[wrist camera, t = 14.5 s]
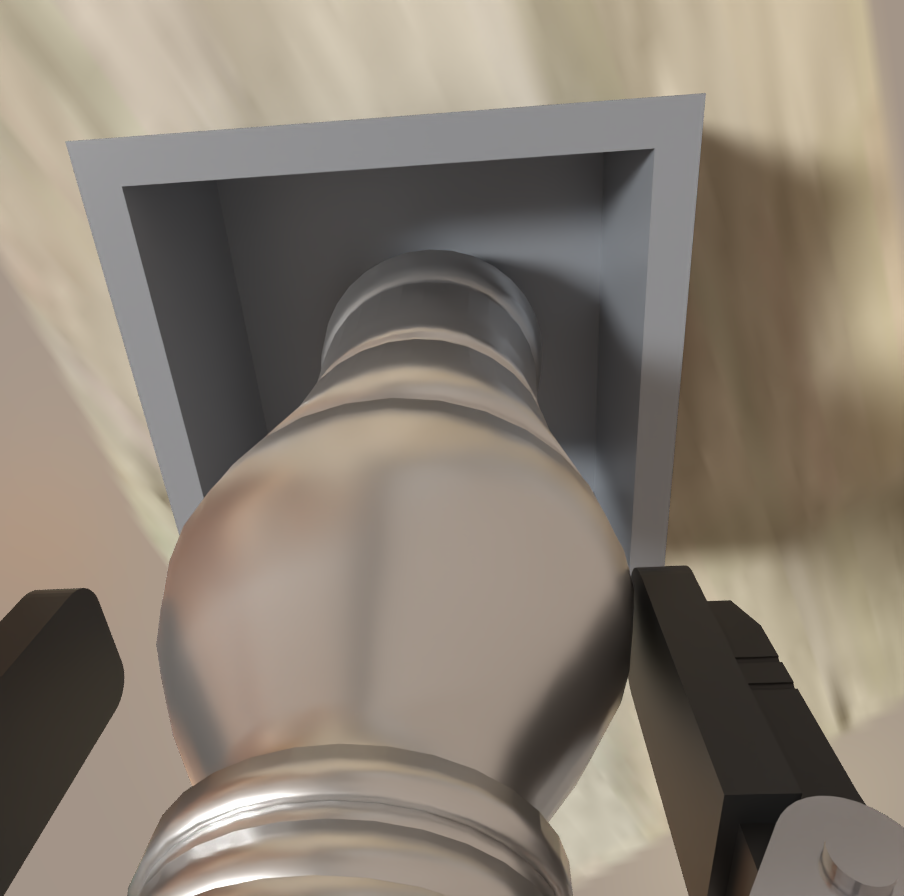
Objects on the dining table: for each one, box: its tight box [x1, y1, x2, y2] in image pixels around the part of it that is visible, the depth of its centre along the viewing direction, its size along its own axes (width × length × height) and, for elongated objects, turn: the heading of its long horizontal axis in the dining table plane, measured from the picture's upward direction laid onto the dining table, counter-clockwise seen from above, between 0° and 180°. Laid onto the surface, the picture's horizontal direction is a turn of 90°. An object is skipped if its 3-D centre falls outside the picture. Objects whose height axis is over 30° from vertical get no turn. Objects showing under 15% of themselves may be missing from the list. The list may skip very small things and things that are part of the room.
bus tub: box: [65, 93, 706, 575], centre depth 20 cm, size 14×14×7 cm
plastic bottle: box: [127, 249, 634, 896], centre depth 14 cm, size 6×7×20 cm
